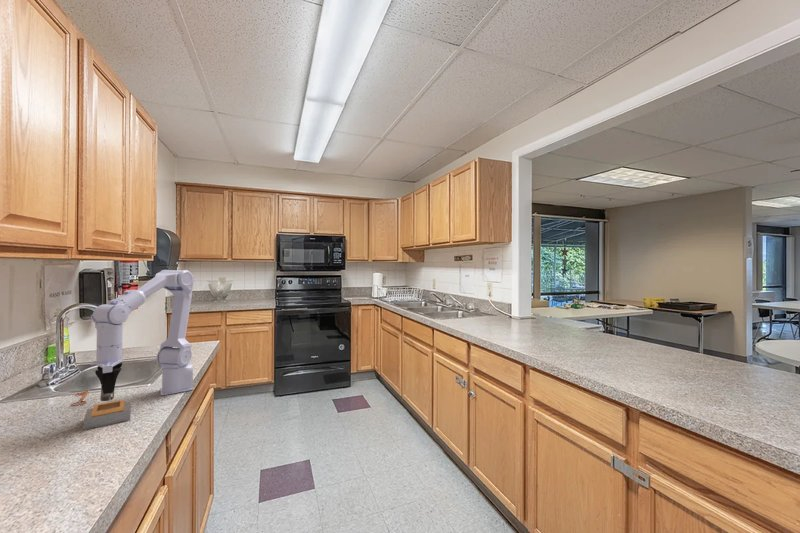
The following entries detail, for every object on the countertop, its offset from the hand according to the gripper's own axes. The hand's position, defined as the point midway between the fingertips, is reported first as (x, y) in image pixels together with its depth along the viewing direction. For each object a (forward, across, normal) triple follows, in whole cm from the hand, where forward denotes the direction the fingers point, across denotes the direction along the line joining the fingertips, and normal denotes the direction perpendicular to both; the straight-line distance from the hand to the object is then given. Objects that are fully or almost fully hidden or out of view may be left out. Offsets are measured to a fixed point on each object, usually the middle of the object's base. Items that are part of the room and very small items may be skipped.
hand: (109, 390), depth 97 cm
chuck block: (+8, 0, 0) cm, 8 cm away
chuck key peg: (+2, 0, 0) cm, 2 cm away
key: (+9, -26, -9) cm, 29 cm away
